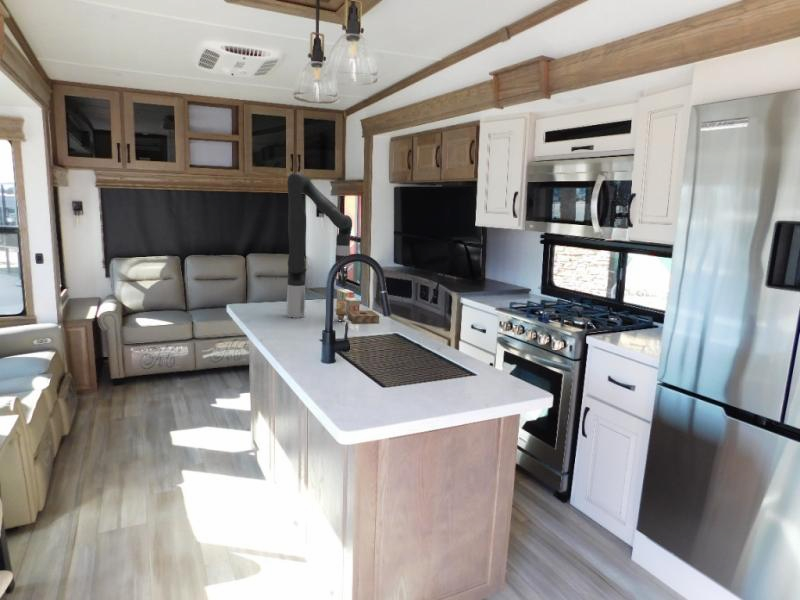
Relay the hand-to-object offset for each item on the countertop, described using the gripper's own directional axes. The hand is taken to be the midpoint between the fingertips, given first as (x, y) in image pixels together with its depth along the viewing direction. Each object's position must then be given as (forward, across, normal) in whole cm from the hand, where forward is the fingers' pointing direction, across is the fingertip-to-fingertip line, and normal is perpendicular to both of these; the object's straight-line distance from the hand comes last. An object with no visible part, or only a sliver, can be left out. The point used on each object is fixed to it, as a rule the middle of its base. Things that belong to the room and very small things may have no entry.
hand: (342, 285), depth 285 cm
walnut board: (+19, 0, +12) cm, 23 cm away
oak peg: (+19, 0, 0) cm, 19 cm away
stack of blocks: (+20, -21, +8) cm, 30 cm away
